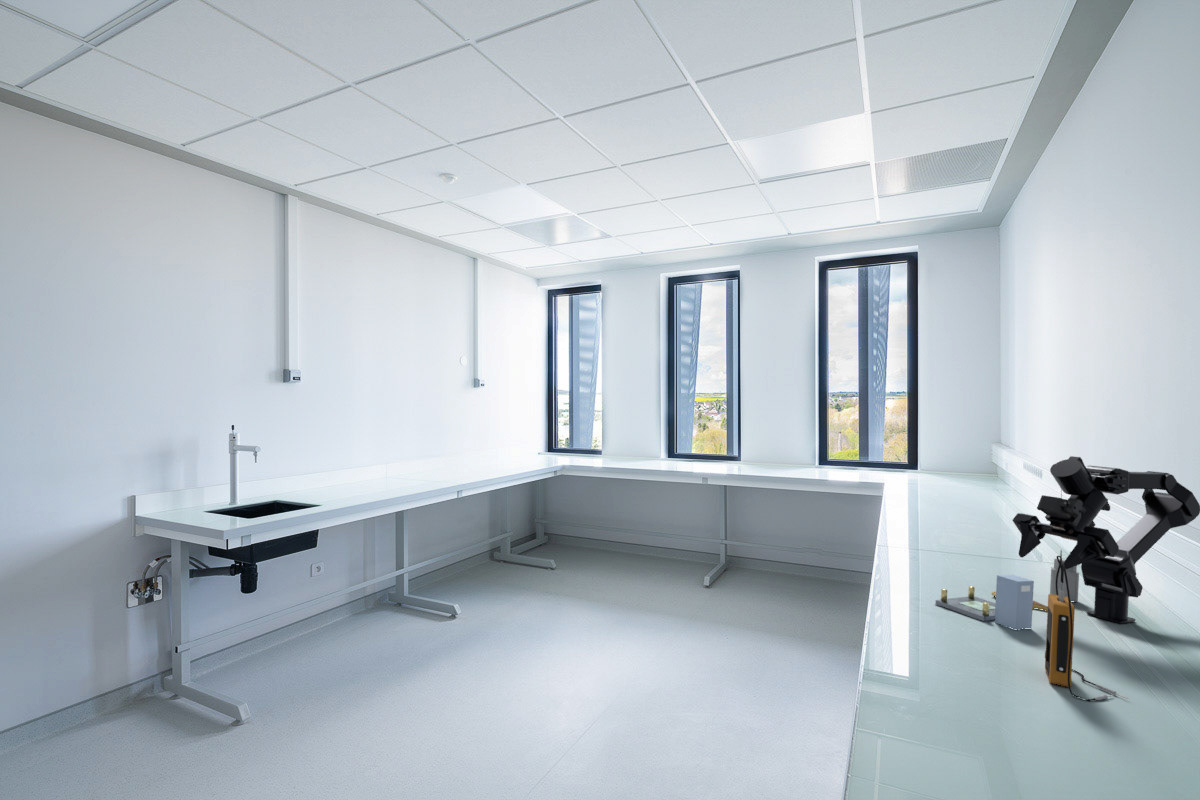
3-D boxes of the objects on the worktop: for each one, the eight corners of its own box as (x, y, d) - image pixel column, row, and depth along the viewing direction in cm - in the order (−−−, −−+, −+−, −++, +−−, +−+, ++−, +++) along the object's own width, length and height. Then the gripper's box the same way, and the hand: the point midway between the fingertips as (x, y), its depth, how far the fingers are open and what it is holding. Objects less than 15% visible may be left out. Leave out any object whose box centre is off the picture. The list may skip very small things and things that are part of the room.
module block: (1010, 621, 125) (1012, 574, 126) (1031, 629, 121) (1034, 580, 121) (994, 622, 124) (996, 575, 124) (1015, 630, 120) (1018, 581, 120)
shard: (1053, 615, 133) (1054, 607, 133) (1022, 614, 132) (1022, 606, 133) (1015, 599, 144) (1016, 592, 144) (986, 598, 143) (987, 591, 143)
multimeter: (1137, 714, 86) (1143, 578, 87) (1052, 693, 92) (1058, 565, 92) (1115, 678, 99) (1121, 559, 99) (1041, 662, 104) (1047, 549, 104)
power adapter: (1077, 603, 142) (1080, 554, 142) (1049, 598, 145) (1051, 549, 146) (1077, 600, 144) (1080, 552, 145) (1050, 595, 148) (1052, 547, 148)
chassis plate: (972, 600, 139) (973, 585, 139) (1021, 616, 129) (1022, 600, 129) (935, 604, 134) (936, 589, 134) (983, 621, 124) (984, 605, 124)
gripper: (1020, 478, 136) (982, 525, 132) (1112, 490, 118) (1071, 545, 115) (1042, 512, 138) (1006, 560, 135) (1136, 529, 121) (1096, 584, 117)
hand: (1041, 561), depth 125 cm, fingers open, 9 cm apart
